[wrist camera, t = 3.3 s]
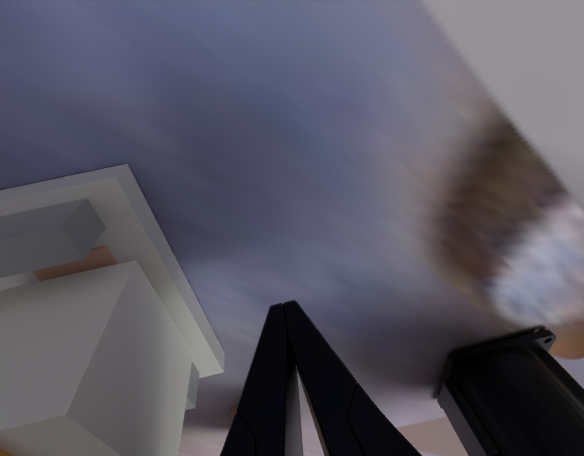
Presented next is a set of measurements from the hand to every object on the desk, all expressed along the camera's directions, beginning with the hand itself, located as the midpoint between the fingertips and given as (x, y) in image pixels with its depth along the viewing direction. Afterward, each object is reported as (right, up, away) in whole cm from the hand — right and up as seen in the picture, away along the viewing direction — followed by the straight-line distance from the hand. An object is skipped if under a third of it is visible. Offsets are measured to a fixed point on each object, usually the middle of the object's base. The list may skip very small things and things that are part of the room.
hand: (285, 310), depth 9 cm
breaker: (-6, -1, +1) cm, 6 cm away
